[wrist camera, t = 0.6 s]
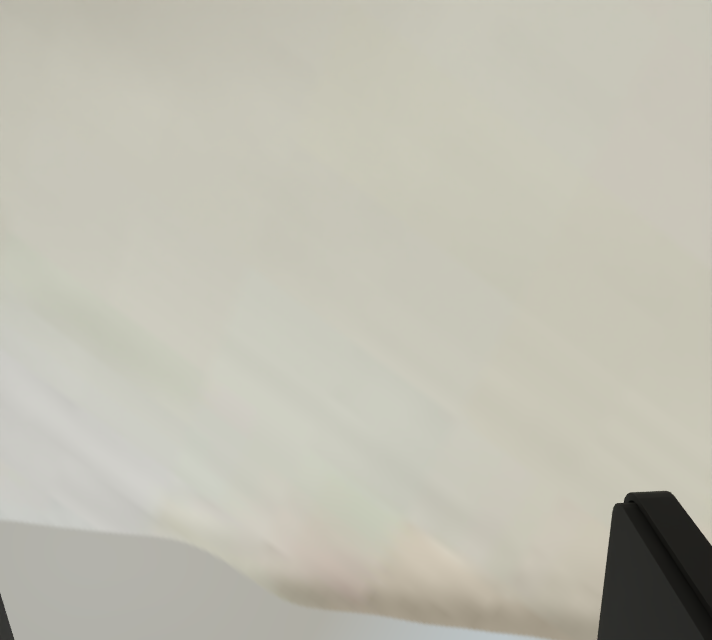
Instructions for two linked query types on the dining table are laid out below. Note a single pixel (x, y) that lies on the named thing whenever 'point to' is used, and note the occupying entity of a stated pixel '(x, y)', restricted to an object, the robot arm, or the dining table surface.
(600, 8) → the dining table surface
